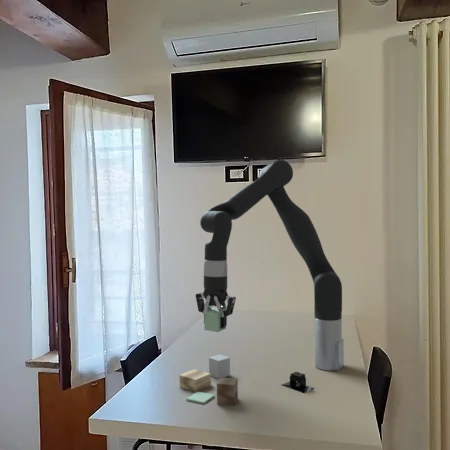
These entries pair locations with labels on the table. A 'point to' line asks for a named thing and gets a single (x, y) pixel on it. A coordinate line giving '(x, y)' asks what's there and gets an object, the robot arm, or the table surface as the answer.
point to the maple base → (195, 380)
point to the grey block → (219, 366)
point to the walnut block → (227, 391)
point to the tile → (200, 397)
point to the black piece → (298, 383)
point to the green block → (212, 320)
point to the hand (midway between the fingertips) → (215, 326)
